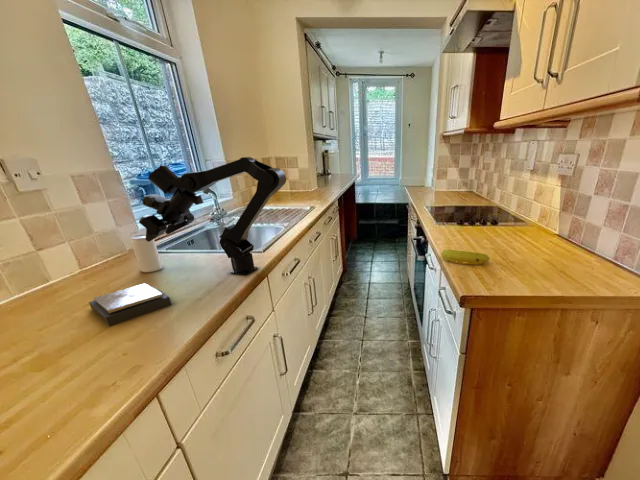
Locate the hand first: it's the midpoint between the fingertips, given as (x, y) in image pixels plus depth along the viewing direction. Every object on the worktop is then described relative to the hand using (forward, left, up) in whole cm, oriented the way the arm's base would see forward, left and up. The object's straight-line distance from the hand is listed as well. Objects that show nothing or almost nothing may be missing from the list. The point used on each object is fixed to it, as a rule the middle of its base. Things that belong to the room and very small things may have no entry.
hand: (157, 237), depth 107 cm
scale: (-15, +25, -12) cm, 32 cm away
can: (+6, +1, -12) cm, 13 cm away
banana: (-101, -38, -10) cm, 108 cm away
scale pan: (-15, +25, -9) cm, 31 cm away
